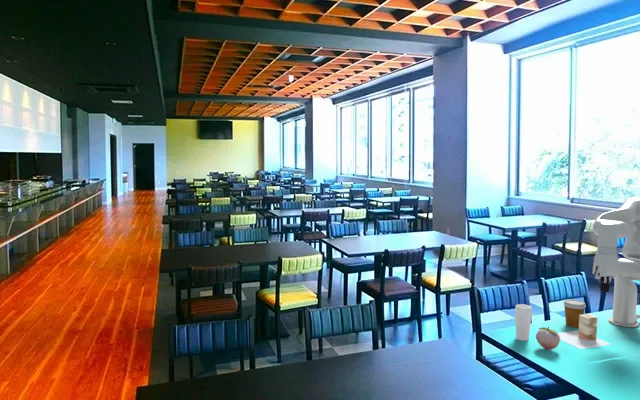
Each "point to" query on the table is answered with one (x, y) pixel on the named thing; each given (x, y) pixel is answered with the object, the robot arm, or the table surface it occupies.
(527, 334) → the drinking glass
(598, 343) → the white square plate
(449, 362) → the table surface
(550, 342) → the decorative fruit
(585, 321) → the maple block
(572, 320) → the disposable coffee cup
